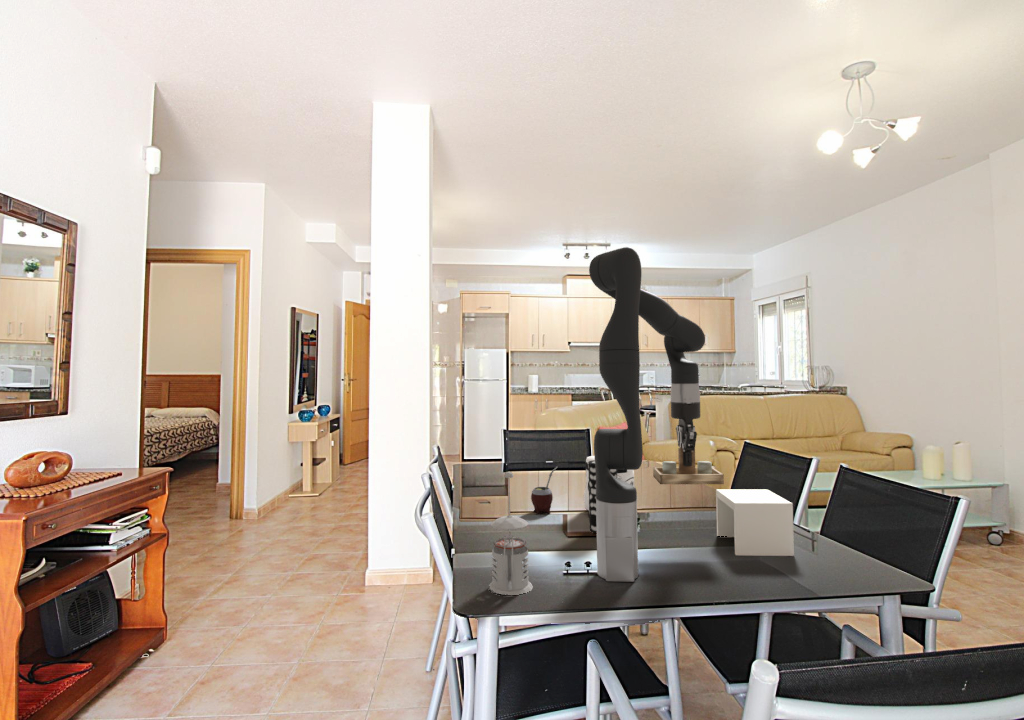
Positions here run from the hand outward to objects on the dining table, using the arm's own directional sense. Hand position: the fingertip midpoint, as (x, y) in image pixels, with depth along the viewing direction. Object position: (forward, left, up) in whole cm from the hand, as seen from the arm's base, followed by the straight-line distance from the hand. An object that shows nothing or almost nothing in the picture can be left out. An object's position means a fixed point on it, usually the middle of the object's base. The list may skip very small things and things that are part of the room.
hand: (686, 465), depth 146 cm
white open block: (0, -17, -21) cm, 27 cm away
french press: (-31, +45, -21) cm, 59 cm away
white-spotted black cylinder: (+12, +21, -21) cm, 32 cm away
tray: (0, 0, -4) cm, 4 cm away
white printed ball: (+32, +17, -21) cm, 42 cm away
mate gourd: (+33, +39, -21) cm, 55 cm away
